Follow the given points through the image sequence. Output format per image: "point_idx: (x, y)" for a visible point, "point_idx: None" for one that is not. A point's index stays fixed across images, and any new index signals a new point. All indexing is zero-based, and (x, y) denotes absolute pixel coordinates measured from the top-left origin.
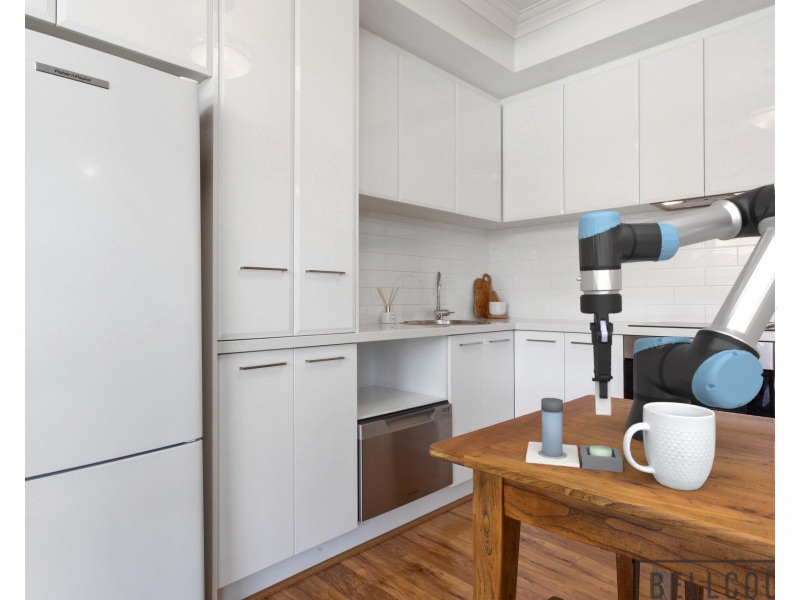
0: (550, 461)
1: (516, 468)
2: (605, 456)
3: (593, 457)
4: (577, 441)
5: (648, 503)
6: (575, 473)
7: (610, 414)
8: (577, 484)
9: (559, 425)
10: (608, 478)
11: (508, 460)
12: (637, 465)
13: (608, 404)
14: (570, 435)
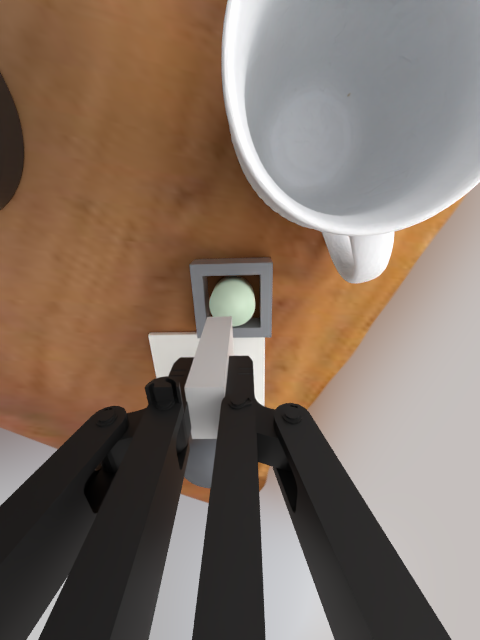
0: (264, 377)
1: None
2: (253, 294)
3: (271, 317)
4: (101, 330)
5: (422, 227)
6: (296, 337)
7: (231, 318)
8: (348, 335)
9: None
10: (308, 285)
11: None
12: (349, 241)
13: (230, 339)
14: (65, 341)
